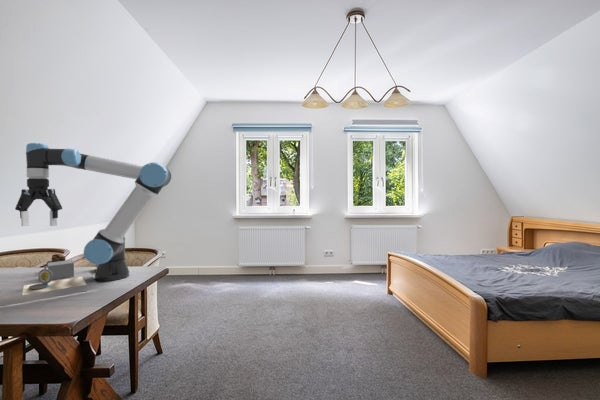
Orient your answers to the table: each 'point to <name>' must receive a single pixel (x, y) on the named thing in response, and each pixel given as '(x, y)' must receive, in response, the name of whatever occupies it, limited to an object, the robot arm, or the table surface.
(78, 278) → the board
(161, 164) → the robot arm
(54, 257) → the wooden carving
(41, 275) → the pocket watch
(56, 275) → the block
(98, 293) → the table surface
